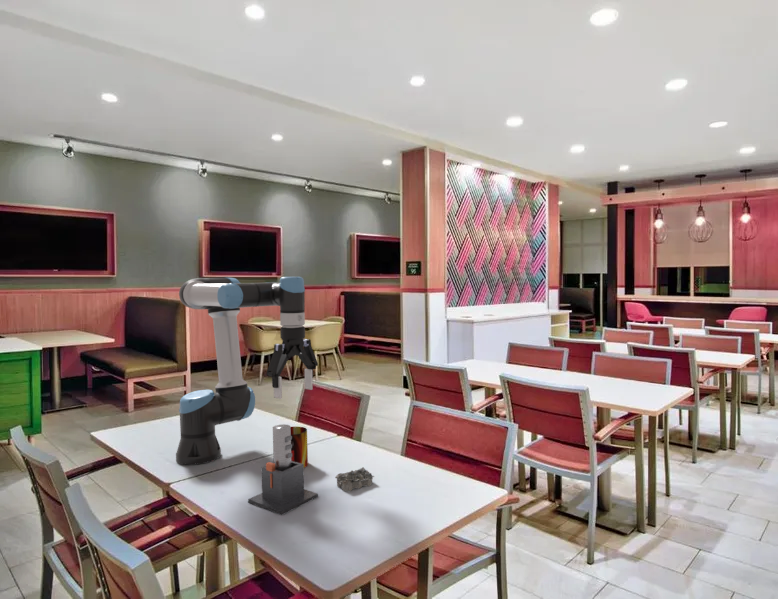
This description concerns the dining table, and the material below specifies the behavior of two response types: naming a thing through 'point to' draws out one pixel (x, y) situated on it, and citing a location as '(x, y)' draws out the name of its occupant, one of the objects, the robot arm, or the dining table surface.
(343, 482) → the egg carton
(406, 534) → the dining table surface
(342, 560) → the dining table surface
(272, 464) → the stand
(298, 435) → the mug
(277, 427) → the column
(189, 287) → the robot arm
